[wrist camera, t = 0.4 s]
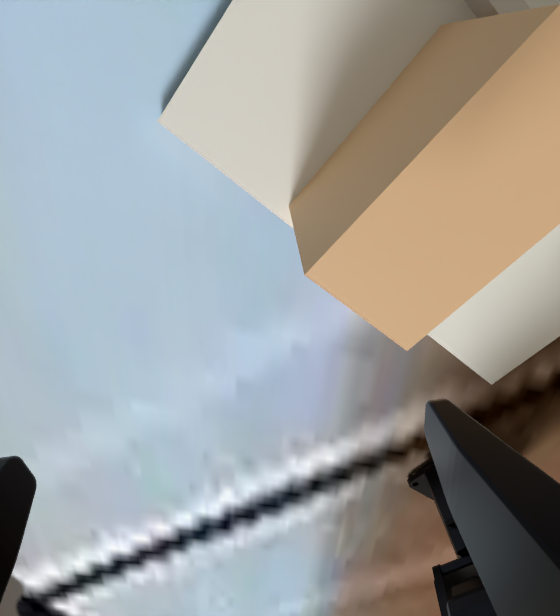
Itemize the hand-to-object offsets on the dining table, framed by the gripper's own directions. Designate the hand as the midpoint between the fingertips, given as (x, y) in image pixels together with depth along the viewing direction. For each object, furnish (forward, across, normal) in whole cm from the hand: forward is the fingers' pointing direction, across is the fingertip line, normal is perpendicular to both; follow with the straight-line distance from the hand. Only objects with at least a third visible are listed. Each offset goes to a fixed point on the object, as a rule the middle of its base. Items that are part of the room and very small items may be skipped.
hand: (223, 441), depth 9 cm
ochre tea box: (+12, -7, -2) cm, 15 cm away
